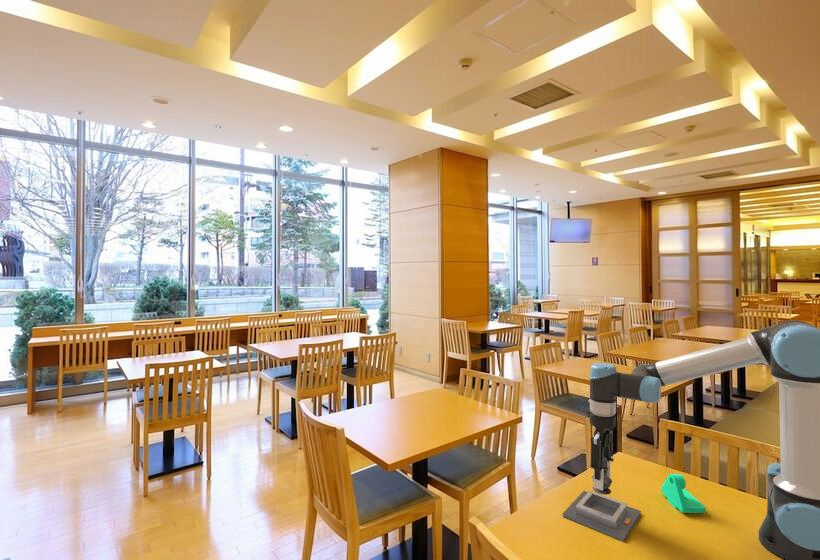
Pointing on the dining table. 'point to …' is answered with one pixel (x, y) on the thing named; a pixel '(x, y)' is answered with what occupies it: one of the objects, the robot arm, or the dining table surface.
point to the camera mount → (680, 495)
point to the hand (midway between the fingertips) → (602, 484)
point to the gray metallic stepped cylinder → (604, 480)
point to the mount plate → (603, 514)
